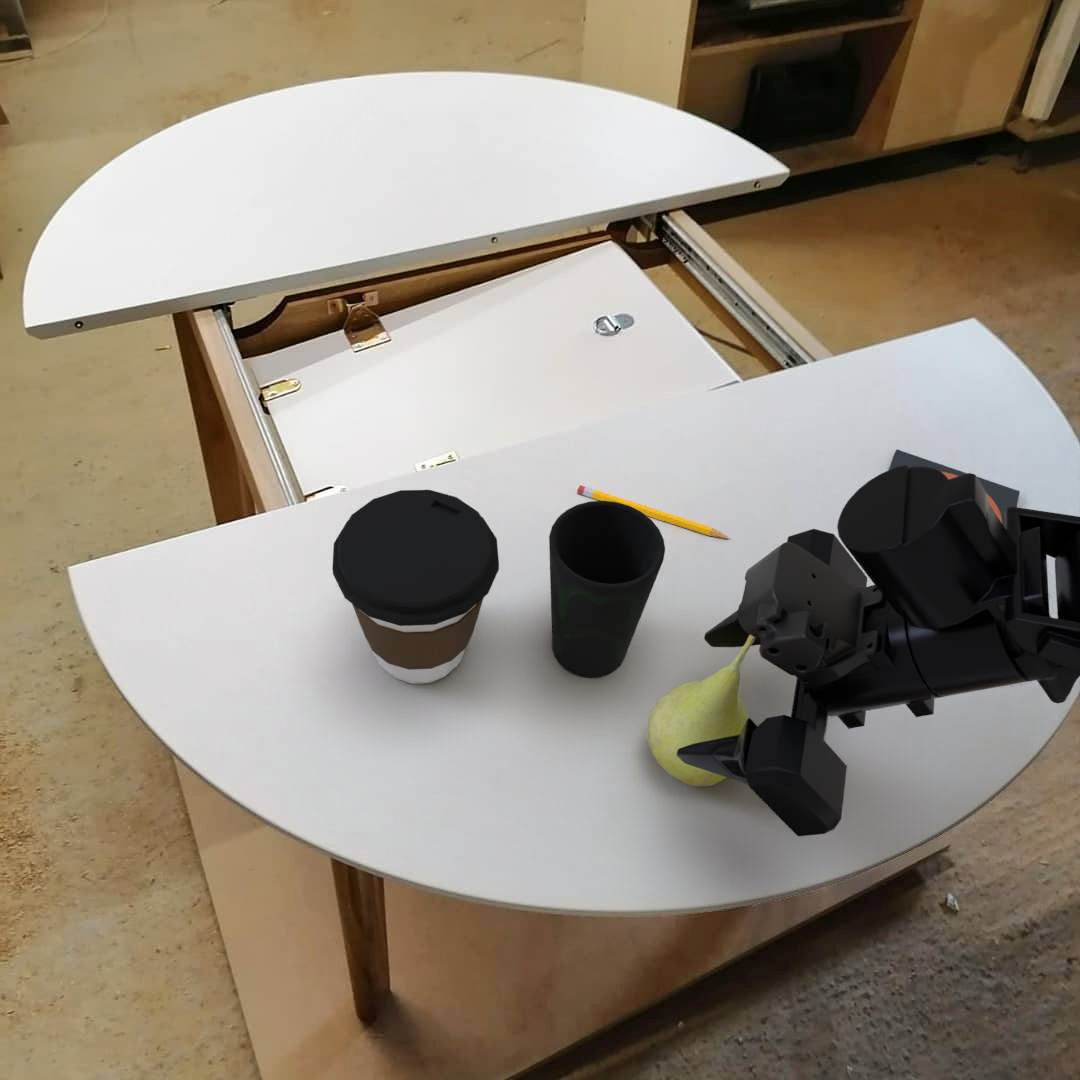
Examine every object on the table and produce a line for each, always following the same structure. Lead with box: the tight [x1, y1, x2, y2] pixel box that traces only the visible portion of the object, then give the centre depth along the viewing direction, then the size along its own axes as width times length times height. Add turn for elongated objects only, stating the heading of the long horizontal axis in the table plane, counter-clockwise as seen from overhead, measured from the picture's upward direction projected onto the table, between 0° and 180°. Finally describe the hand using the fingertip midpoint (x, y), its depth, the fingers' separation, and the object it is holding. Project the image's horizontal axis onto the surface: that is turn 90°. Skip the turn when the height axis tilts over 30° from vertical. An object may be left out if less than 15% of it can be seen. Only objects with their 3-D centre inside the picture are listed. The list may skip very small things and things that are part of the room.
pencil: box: [577, 485, 732, 540], centre depth 84 cm, size 1×13×1 cm, turn 69°
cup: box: [548, 500, 666, 679], centre depth 71 cm, size 8×8×12 cm
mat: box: [888, 449, 1021, 526], centre depth 87 cm, size 11×11×1 cm
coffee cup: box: [332, 489, 500, 685], centre depth 70 cm, size 11×11×12 cm
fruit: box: [646, 635, 756, 787], centre depth 65 cm, size 7×8×12 cm
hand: (694, 695), depth 65 cm, fingers open, 9 cm apart
